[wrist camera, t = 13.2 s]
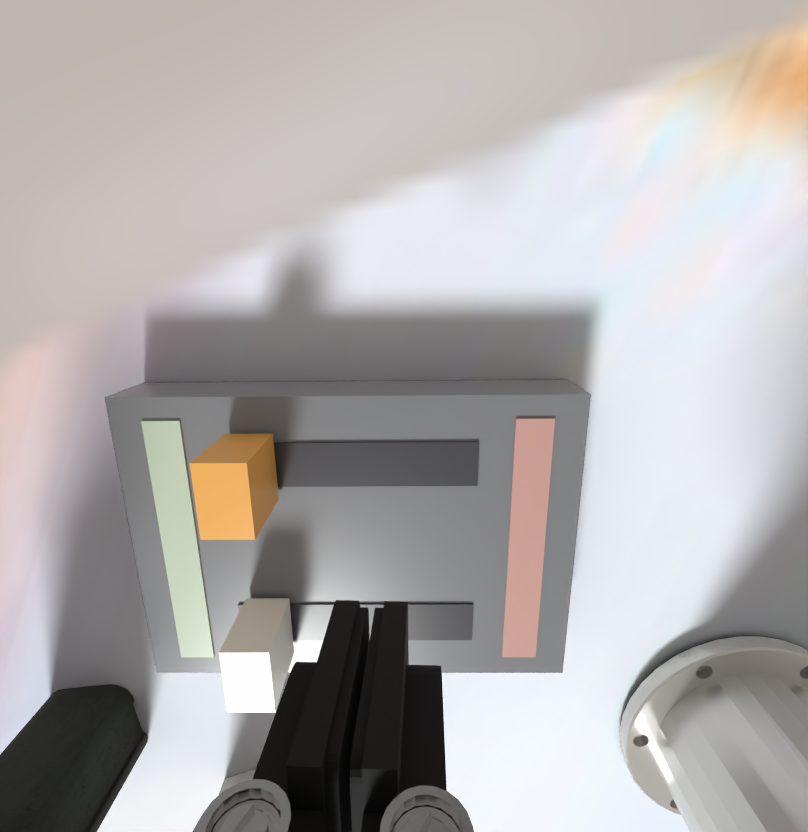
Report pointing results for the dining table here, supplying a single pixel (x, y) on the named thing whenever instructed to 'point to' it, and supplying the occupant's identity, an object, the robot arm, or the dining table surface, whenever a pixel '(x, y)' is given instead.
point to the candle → (70, 761)
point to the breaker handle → (235, 486)
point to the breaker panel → (359, 522)
